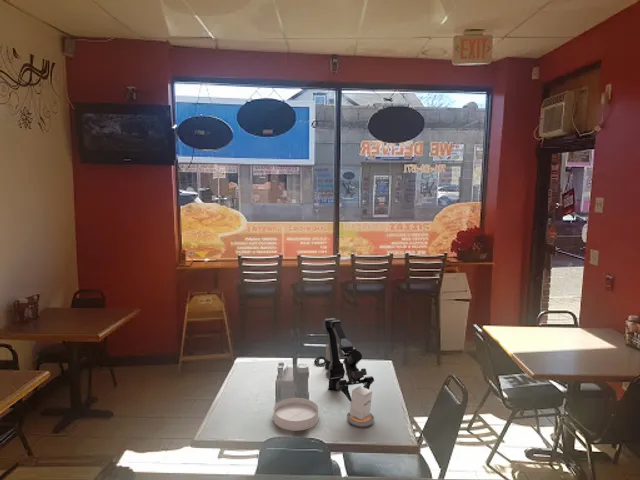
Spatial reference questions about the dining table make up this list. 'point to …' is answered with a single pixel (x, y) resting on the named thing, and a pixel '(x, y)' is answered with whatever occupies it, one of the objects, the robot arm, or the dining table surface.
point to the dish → (295, 414)
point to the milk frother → (327, 359)
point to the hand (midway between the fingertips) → (359, 399)
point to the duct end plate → (360, 421)
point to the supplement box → (360, 402)
